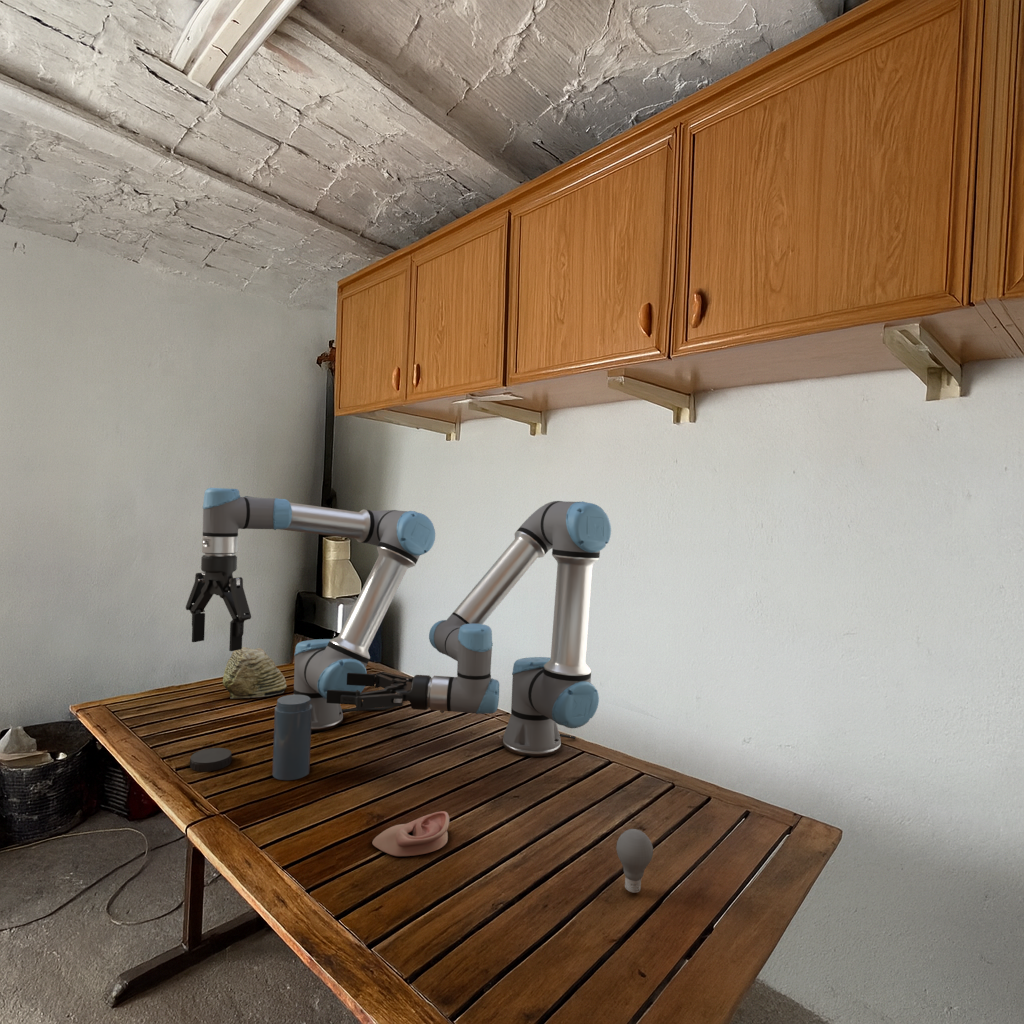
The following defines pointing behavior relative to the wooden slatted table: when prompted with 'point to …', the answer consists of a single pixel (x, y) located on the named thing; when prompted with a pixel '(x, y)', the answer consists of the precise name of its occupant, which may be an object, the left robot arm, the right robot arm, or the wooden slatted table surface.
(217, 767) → the lid
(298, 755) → the jar
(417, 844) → the anatomical model
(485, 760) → the wooden slatted table surface
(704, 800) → the wooden slatted table surface
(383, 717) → the wooden slatted table surface
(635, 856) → the light bulb
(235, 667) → the fossil
